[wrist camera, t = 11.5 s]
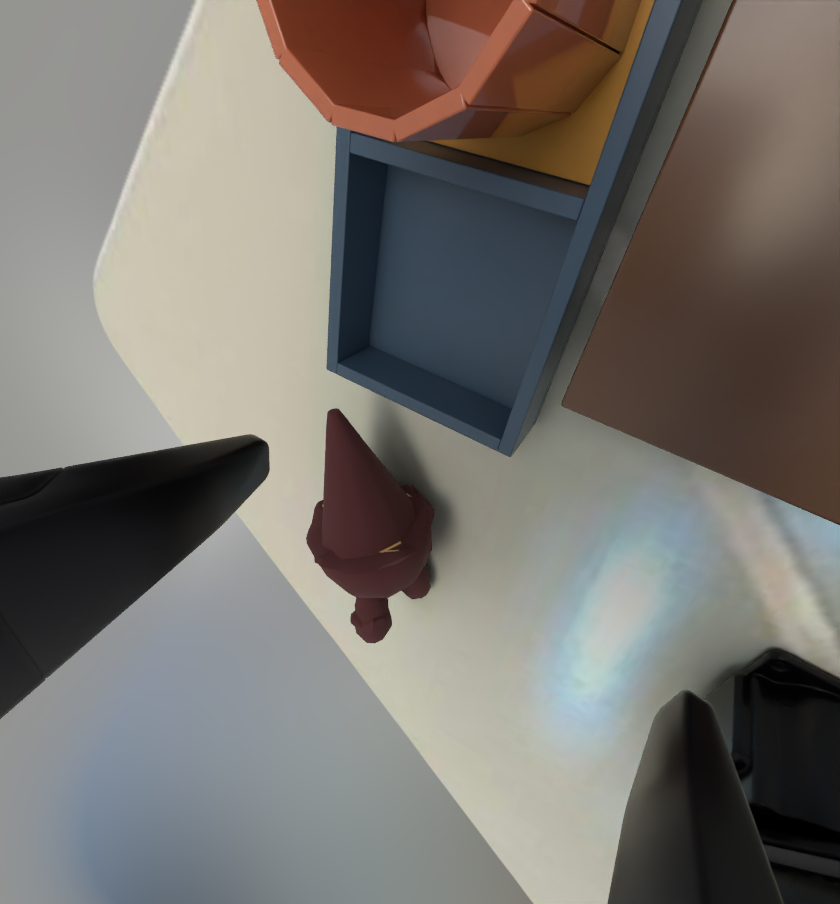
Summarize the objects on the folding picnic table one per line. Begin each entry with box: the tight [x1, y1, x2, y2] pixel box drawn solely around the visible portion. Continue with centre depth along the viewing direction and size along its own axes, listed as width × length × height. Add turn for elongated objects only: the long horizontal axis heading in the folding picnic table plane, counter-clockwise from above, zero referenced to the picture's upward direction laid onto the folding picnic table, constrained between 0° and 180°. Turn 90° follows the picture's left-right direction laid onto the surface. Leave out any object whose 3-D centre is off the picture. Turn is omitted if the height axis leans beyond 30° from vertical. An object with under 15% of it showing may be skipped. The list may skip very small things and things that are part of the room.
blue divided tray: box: [327, 0, 702, 457], centre depth 16 cm, size 9×18×3 cm, turn 169°
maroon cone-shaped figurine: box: [306, 409, 434, 643], centre depth 26 cm, size 7×7×15 cm
